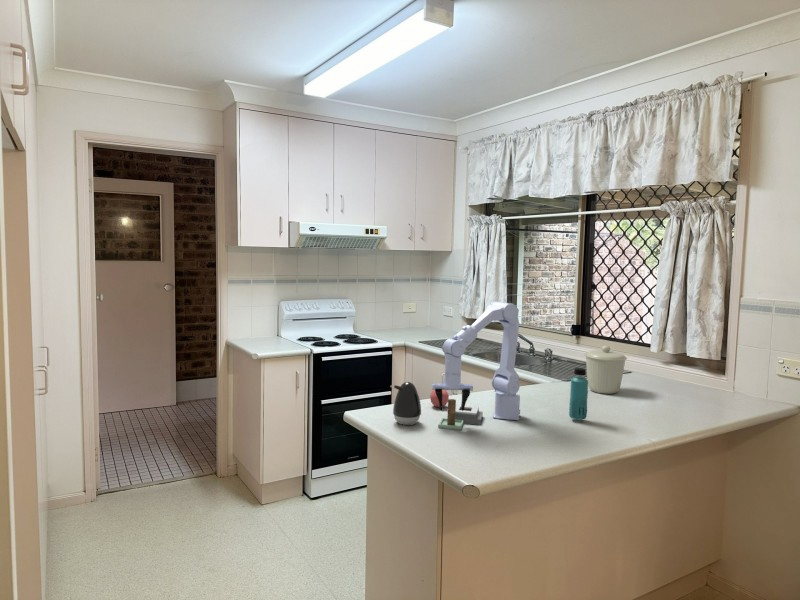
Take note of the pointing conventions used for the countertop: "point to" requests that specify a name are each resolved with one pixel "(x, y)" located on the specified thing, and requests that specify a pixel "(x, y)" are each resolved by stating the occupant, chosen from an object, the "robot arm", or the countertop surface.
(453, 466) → the countertop surface
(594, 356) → the canister
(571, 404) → the beverage bottle
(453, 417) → the brown wooden cylinder
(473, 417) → the box
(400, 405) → the pump dispenser
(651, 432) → the countertop surface
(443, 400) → the apple
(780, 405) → the countertop surface
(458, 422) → the rest tray
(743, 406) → the countertop surface
